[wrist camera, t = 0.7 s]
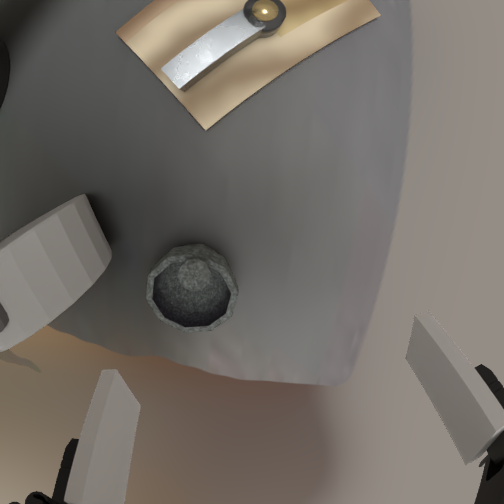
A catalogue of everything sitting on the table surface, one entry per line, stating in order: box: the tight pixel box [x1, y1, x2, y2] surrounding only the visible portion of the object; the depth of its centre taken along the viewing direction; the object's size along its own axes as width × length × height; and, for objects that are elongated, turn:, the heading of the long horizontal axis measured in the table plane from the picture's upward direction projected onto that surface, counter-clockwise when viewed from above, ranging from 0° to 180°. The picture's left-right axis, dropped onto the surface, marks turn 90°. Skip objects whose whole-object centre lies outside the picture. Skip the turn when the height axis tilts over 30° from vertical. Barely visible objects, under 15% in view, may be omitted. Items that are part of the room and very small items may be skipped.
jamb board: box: [115, 0, 381, 130], centre depth 23 cm, size 16×25×5 cm, turn 128°
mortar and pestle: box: [146, 243, 238, 332], centre depth 31 cm, size 11×9×12 cm
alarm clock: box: [0, 194, 112, 352], centre depth 25 cm, size 21×8×20 cm, turn 108°
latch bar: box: [161, 0, 286, 92], centre depth 23 cm, size 13×4×4 cm, turn 128°
